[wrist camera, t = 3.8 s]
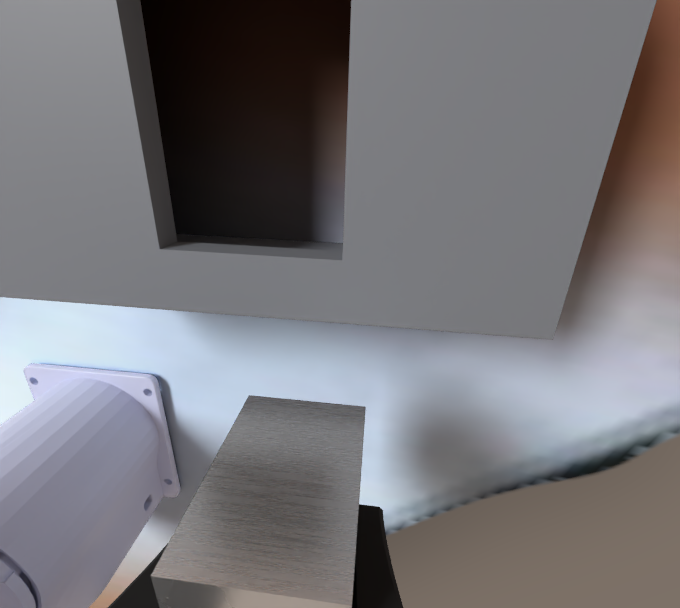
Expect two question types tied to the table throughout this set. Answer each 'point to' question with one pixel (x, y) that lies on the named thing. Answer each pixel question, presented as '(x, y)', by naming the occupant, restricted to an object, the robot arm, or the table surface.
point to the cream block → (272, 513)
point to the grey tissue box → (360, 174)
